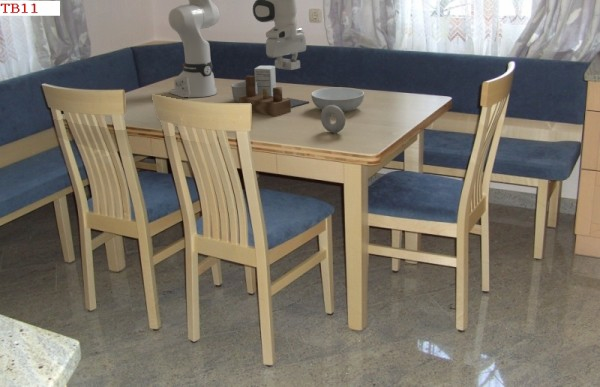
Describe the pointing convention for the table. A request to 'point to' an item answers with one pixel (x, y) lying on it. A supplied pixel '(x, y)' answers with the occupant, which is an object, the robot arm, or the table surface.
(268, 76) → the supplement box
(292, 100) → the rubber mat
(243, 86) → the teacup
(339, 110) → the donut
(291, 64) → the lever cap
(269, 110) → the wooden peg stand
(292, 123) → the table surface
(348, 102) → the serving bowl
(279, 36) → the robot arm
